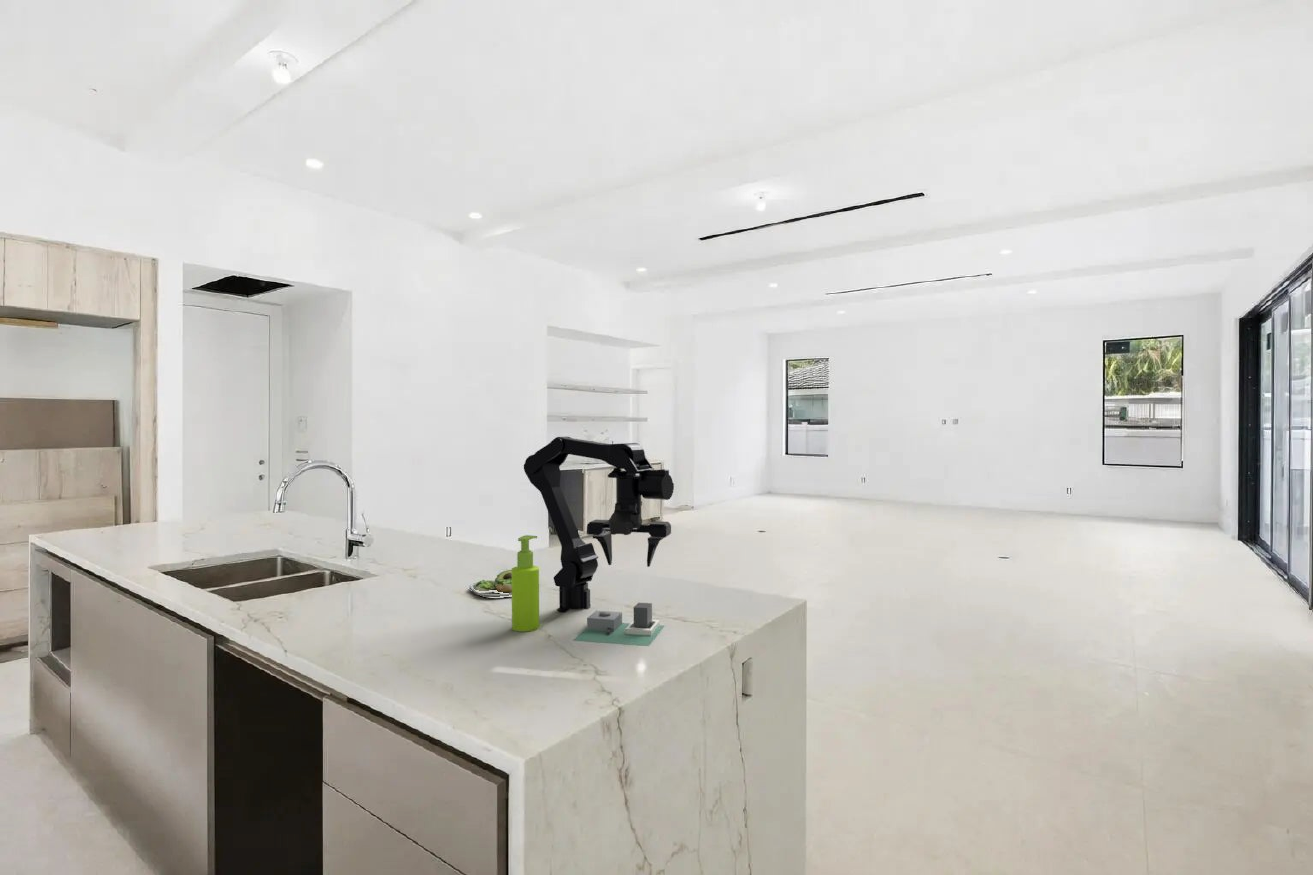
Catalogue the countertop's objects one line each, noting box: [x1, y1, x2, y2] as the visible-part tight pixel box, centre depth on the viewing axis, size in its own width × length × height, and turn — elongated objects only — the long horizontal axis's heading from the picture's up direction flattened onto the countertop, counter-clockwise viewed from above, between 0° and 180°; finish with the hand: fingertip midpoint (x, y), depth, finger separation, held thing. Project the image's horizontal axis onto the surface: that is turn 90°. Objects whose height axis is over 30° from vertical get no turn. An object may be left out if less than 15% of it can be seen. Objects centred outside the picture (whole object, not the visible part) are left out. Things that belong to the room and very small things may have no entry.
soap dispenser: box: [511, 534, 540, 632], centre depth 153 cm, size 6×7×20 cm
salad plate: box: [469, 569, 512, 597], centre depth 186 cm, size 19×18×5 cm
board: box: [572, 610, 665, 647], centre depth 146 cm, size 16×14×4 cm
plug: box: [633, 602, 653, 629], centre depth 149 cm, size 3×5×5 cm, turn 167°
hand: (629, 565), depth 160 cm, fingers open, 9 cm apart
